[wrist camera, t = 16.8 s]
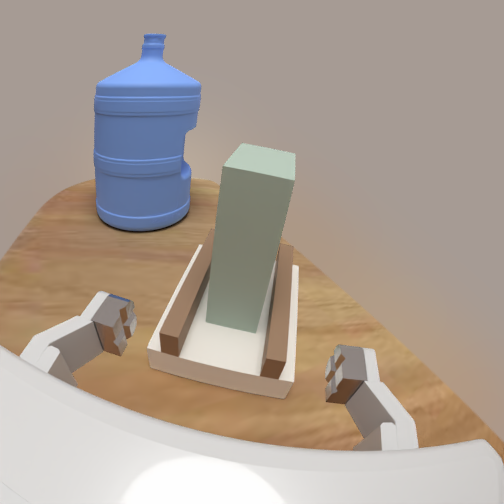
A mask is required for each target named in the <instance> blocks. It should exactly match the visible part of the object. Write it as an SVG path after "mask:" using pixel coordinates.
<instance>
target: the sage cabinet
mask: <svg viewBox="0 0 504 504" xmlns="http://www.w3.org/2000/svg"><path fill="white" fill-rule="evenodd" d="M294 182H295V154H294V153H289V152H285V151H280V150H275V149H270V148H265V147H260V146H255V145H250V144H244V143H242V144H241V145H240V146H239V147H238V148H237V150H236V151H235V152H234V153H233V154H232V156H231V157H230V158H229V159H228V160H227V162H226V163H225V164H224V165H223V169H222V176H221V184H220V192H219V199H218V207H217V216H216V224H215V233H214V241H213V251H212V260H211V270H210V279H209V290H208V300H207V311H206V322H207V323H211V324H215V325H219V326H224V327H228V328H232V329H237V330H241V331H246V332H251V333H255V334H256V331H257V327H258V323H259V320H260V316H261V312H262V309H263V305H264V301H265V297H266V293H267V290H268V286H269V282H270V278H271V274H272V270H273V267H274V263H275V259H276V255H277V251H278V247H279V243H280V239H281V235H282V231H283V227H284V223H285V219H286V215H287V211H288V207H289V202H290V198H291V194H292V190H293V186H294Z"/></svg>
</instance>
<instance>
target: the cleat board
mask: <svg viewBox="0 0 504 504" xmlns="http://www.w3.org/2000/svg"><path fill="white" fill-rule="evenodd" d="M214 233H215V229H211V231H210V232H209V234H208V236H207V238H206V240H205V242H204V244H203V245H199V247H198V248H197V250H196V252H195V254H194V256H193V258H192V260H191V261H190V263H189V265H188V267H187V269H186V271H185V273H184V275H183V277H182V278H181V280H180V282H179V284H178V286H177V288H176V290H175V292H174V294H173V296H172V298H171V300H170V302H169V304H168V306H167V308H166V310H165V312H164V314H163V316H162V318H161V320H160V322H159V324H158V326H157V328H156V330H155V332H154V334H153V336H152V338H151V340H150V342H149V344H148V346H147V352H148V358H149V364H150V368H153V369H156V370H160V371H163V372H166V373H170V374H173V375H177V376H180V377H184V378H187V379H191V380H195V381H199V382H203V383H207V384H211V385H215V386H219V387H224V388H228V389H233V390H237V391H242V392H247V393H252V394H258V395H263V396H269V397H275V398H281V399H285V397H286V395H287V394H288V392H289V390H290V388H291V386H292V385H293V383H294V372H295V354H296V333H297V308H298V270H299V266H296V265H293V246H290V245H286V244H281V243H280V247H279V251H278V255H277V259H276V261H275V263H274V267H273V270H272V274H271V278H270V282H269V286H268V290H267V293H266V297H265V301H264V305H263V309H262V312H261V316H260V320H259V323H258V327H257V331H256V334H255V333H251V332H246V331H241V330H237V329H232V328H228V327H224V326H219V325H215V324H211V323H207V322H206V311H207V300H208V290H209V279H210V270H211V260H212V251H213V241H214Z"/></svg>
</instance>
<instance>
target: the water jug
mask: <svg viewBox="0 0 504 504" xmlns="http://www.w3.org/2000/svg"><path fill="white" fill-rule="evenodd" d="M144 38H145V40H144V44H143V45H142V56H141V59H140V60H139V61H138V62H137V63H135V64H133V65H131V66H129V67H127V68H125V69H123V70H121V71H119V72H117V73H115V74H113V75H111V76H109V77H107V78H106V79H104V80H102V81H100V82H99V83H98V84H97V86H96V95H95V99H94V111H95V128H94V130H95V131H94V133H95V134H94V139H95V140H94V141H95V142H94V143H95V144H94V147H95V148H94V166H95V177H96V178H95V179H96V195H97V198H96V206H97V213H98V215H99V217H100V218H101V219H102V220H103V221H104V222H105V223H107V224H109V225H110V226H113V227H115V228H119V229H123V230H129V231H149V230H156V229H161V228H164V227H167V226H170V225H172V224H174V223H176V222H178V221H179V220H181V219H182V218H183V217H184V216H185V215H186V214H187V212H188V210H189V206H190V182H191V168H190V166H189V165H188V164H187V163H186V162H185V161H184V159H183V154H184V143H185V134H186V133H187V132H188V131H189V130H192V129H193V128H195V127H196V123H197V114H198V111H199V107H200V100H201V94H200V92H201V84H200V83H199V82H198V81H196V80H195V79H193V78H191V77H189V76H187V75H186V74H184V73H183V72H181V71H179V70H177V69H176V68H174V67H172V66H170V65H168V64H166V63H165V62H164V61H163V57H162V56H163V50H164V39H165V38H166V35H163V34H146V35H144Z"/></svg>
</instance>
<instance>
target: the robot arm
mask: <svg viewBox="0 0 504 504" xmlns="http://www.w3.org/2000/svg"><path fill="white" fill-rule="evenodd" d="M133 309H134V303H133V301H131V300H128V299H125V298H122V297H119V296H116V295H113V294H109V293H106V292H103V291H100V292H98V293H97V294H96V295H95V297H94V298H93V299H92V301H91V302H90V303H89V305H88V306H87V307H86V309H85V310H84V312H83V313H82V314H81V316H75V317H73V318H71V319H69V320H67V321H65V322H63V323H60V324H58V325H56V326H54V327H52V328H50V329H48V330H46V331H44V332H41V333H39V334H37V335H35V336H34V337H33V338H32V340H31V341H30V342H29V344H28V345H27V347H26V348H25V349H24V351H23V352H22V354H21V355H20V357H18V356H17V355H15V354H14V353H12V352H10V351H9V350H7V349H6V348H4V347H3V346H1V345H0V504H504V465H503V462H502V459H501V457H500V456H499V455H498V453H497V452H496V451H495V450H494V449H493V447H492V446H491V445H490V444H489V443H488V442H487V441H486V440H484V439H477V440H472V441H467V442H461V443H455V444H449V445H442V446H434V447H425V448H418V441H417V433H416V426H415V421H414V420H413V419H412V417H411V416H410V415H409V414H408V412H407V411H406V410H405V409H404V407H403V406H402V405H401V404H400V403H399V401H398V400H397V399H396V398H395V396H394V395H393V394H392V393H391V391H390V390H389V389H388V388H387V387H386V385H385V384H384V383H383V382H380V378H379V372H378V366H377V360H376V354H375V351H374V349H369V348H361V347H354V346H346V345H337V346H336V348H335V350H334V355H333V356H332V357H330V359H329V361H328V363H327V367H326V373H325V379H326V380H327V382H328V383H329V384H328V385H327V387H326V388H325V389H326V402H329V403H338V404H345V406H346V408H347V410H348V412H349V413H350V415H351V417H352V418H353V420H354V422H355V424H356V425H357V427H358V429H359V431H360V432H361V434H362V436H363V438H364V439H363V440H362V441H361V442H359V443H358V444H357V445H356V446H355V447H353V451H339V450H319V449H306V448H296V447H286V446H278V445H271V444H264V443H257V442H251V441H245V440H240V439H235V438H230V437H225V436H220V435H215V434H211V433H207V432H203V431H198V430H195V429H191V428H187V427H183V426H180V425H176V424H173V423H169V422H166V421H163V420H159V419H156V418H153V417H150V416H147V415H144V414H141V413H138V412H135V411H133V410H130V409H127V408H124V407H122V406H119V405H116V404H114V403H111V402H109V401H106V400H104V399H102V398H99V397H97V396H94V395H92V394H90V393H88V392H85V391H83V390H81V389H79V388H77V385H78V384H77V381H76V380H75V378H74V376H73V374H72V373H73V372H74V371H76V370H77V369H79V368H80V367H82V366H83V365H85V364H86V363H87V362H89V361H90V360H92V359H93V358H95V357H96V356H98V355H99V354H101V353H102V352H103V351H106V352H109V353H112V354H115V355H118V356H121V355H122V354H123V352H124V350H125V348H126V346H127V341H126V339H128V338H130V337H132V335H133V333H134V331H135V327H136V315H135V314H134V312H133Z"/></svg>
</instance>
